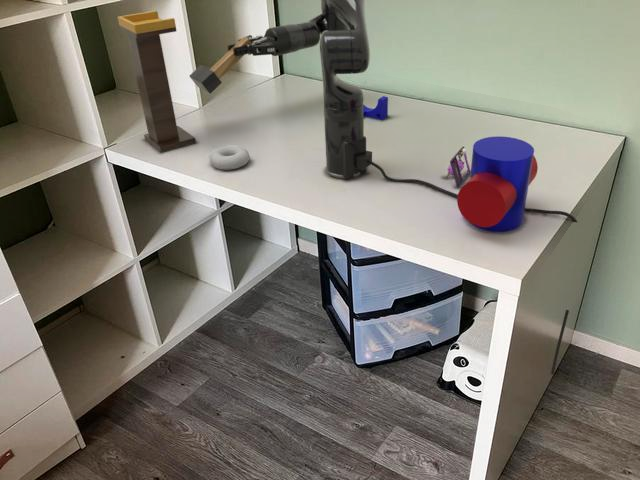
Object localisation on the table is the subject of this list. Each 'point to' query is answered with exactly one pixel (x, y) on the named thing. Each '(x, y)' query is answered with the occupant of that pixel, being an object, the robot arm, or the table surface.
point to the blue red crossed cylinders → (498, 183)
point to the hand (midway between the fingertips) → (231, 50)
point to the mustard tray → (145, 22)
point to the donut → (229, 157)
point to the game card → (458, 167)
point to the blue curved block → (378, 109)
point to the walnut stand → (156, 91)
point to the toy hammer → (217, 69)
